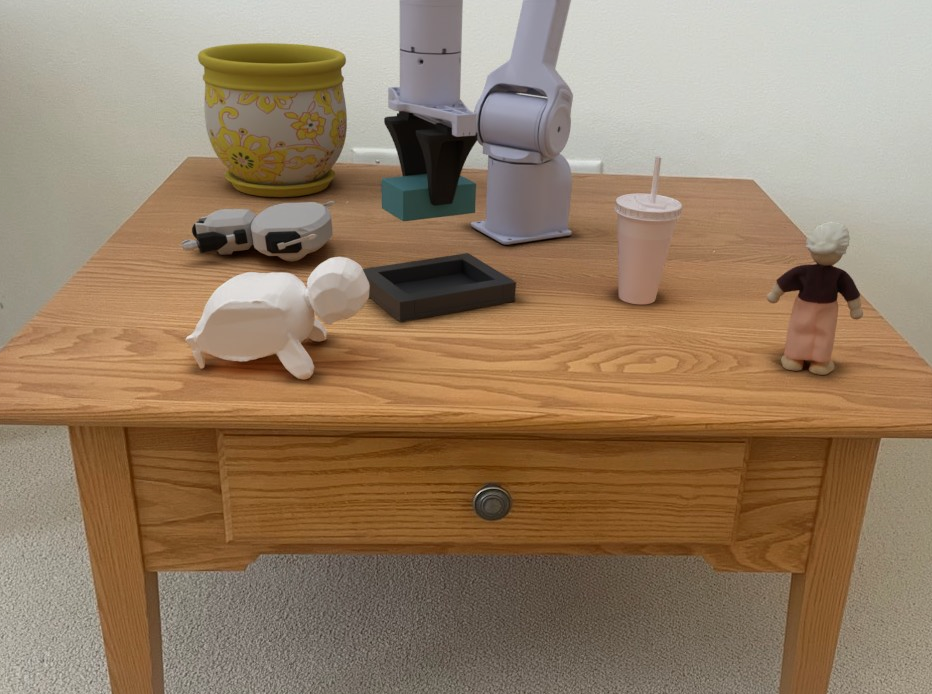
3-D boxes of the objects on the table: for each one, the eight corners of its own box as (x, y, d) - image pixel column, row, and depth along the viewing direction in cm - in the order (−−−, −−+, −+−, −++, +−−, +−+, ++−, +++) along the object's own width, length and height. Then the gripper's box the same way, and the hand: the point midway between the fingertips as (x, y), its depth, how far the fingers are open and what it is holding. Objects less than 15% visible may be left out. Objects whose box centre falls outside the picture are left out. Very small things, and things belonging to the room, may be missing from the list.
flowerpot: (339, 207, 119) (334, 67, 111) (194, 200, 119) (179, 60, 111) (357, 170, 135) (354, 46, 126) (230, 165, 134) (218, 40, 126)
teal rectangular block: (451, 200, 99) (452, 171, 98) (475, 213, 95) (476, 182, 94) (381, 208, 96) (380, 178, 94) (403, 221, 92) (403, 190, 90)
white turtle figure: (213, 409, 78) (383, 354, 75) (163, 318, 74) (340, 257, 71) (238, 364, 85) (394, 313, 83) (194, 279, 81) (355, 223, 79)
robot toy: (180, 275, 98) (325, 271, 98) (172, 232, 96) (320, 228, 96) (211, 238, 109) (342, 234, 108) (204, 199, 107) (338, 195, 106)
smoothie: (629, 313, 92) (647, 166, 85) (592, 291, 97) (606, 150, 90) (682, 304, 95) (704, 161, 88) (644, 282, 99) (661, 145, 93)
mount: (467, 271, 100) (468, 252, 100) (515, 301, 93) (516, 282, 92) (358, 288, 95) (357, 269, 94) (399, 322, 88) (399, 302, 87)
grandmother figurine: (842, 360, 84) (877, 219, 78) (849, 379, 81) (886, 233, 75) (753, 351, 85) (780, 211, 79) (756, 369, 82) (785, 225, 76)
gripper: (359, 40, 92) (362, 182, 98) (427, 63, 81) (425, 220, 88) (424, 39, 95) (423, 176, 102) (498, 60, 84) (491, 212, 91)
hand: (428, 196), depth 95 cm, fingers closed on teal rectangular block, 5 cm apart
